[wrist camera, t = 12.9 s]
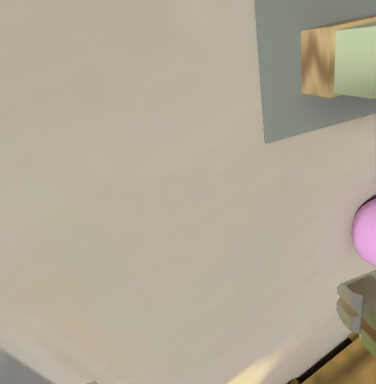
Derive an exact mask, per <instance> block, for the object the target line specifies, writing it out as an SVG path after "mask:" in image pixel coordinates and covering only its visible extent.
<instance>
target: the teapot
mask: <svg viewBox="0 0 376 384" xmlns="http://www.w3.org/2000/svg"><path fill="white" fill-rule="evenodd" d="M352 238H353V242H354V246H355V249H356V251H357V253H358V254H359V255H360V257H361V258H363V259H364V260H365V261H367V262H369V263H370V264H372V265H374V266H376V198H375V199H373V200H371V201H369V202H368V203H366V204H365V205H363V206H362V207H361V208H360V209H359V210H358V212H357V213H356V215H355V218H354V221H353V226H352Z"/></svg>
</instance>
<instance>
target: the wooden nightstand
mask: <svg viewBox="0 0 376 384" xmlns="http://www.w3.org/2000/svg"><path fill="white" fill-rule="evenodd" d="M348 338H349V339H350V340H351V341H352V343H351V344H350V345H349V346H347V347H346V348H345V349H344V350H342V351H341V352H340V353H339V354H337V355H336V356H335V357H334V358H332V359H331V360H330V361H329V362H328V363H326V364H325V365H324V366H323V367H321V368H320V369H319V370H318V371H316V372H315V373H314V374H313V375H311V376H310V377H309V378H308V379H306V380H305V381H304V382H303V383H301V382H300V381H298V380H297V379H296V378H295V379H294V380H292V381H291V382H290V383H289V384H376V358H375V357H374V356H373V355H372V354H371V353H370V352H369V351H368V350H367V348H366V347H365V346H364V345H363V344H362V343H361V342H360V337H359V334H357V333H355V332H352V333H350V334H349V335H348Z"/></svg>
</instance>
